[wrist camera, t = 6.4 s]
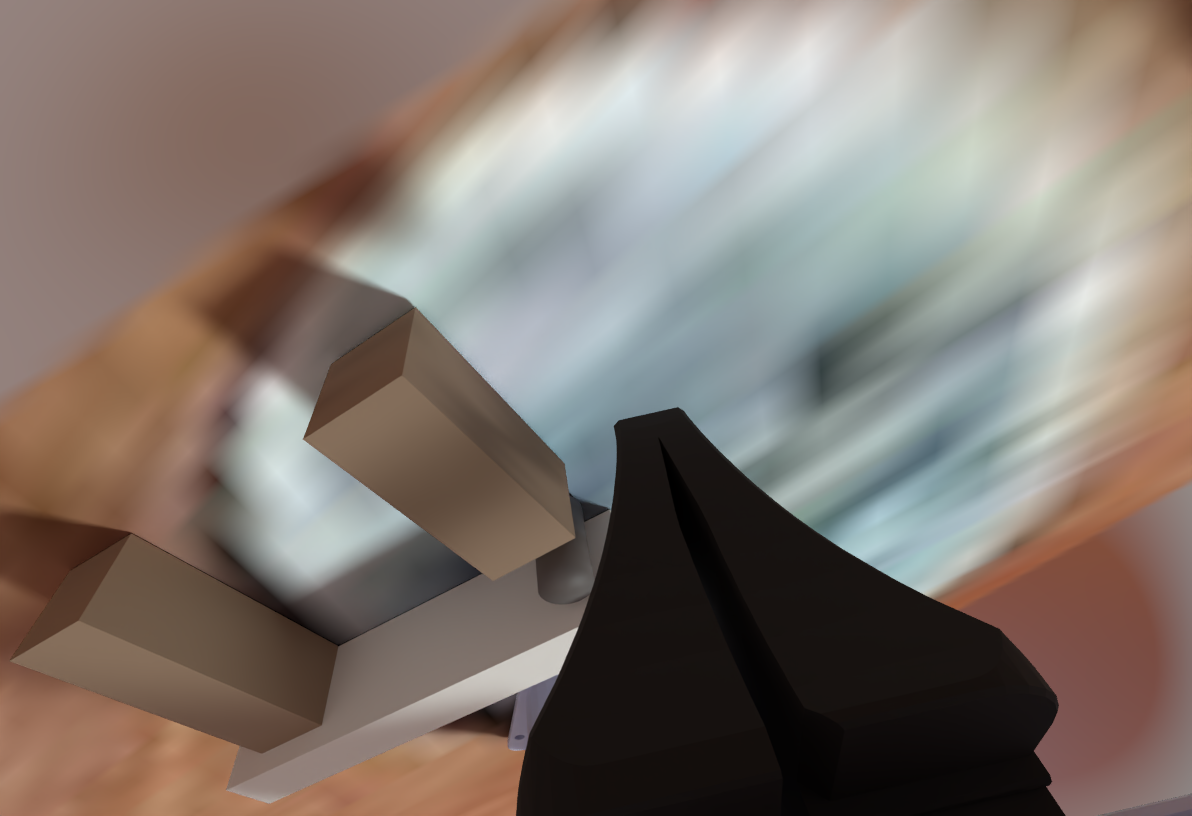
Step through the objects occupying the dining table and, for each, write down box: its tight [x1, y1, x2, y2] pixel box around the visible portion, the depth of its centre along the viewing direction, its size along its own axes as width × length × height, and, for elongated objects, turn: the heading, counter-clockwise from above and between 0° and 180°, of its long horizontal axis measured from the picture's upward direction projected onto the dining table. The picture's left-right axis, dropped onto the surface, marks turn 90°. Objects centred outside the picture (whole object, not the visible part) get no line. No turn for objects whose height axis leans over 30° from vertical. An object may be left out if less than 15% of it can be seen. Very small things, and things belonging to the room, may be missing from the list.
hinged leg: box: [303, 307, 594, 604], centre depth 18 cm, size 10×3×3 cm, turn 31°
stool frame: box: [10, 509, 611, 804], centre depth 20 cm, size 18×11×4 cm, turn 120°
